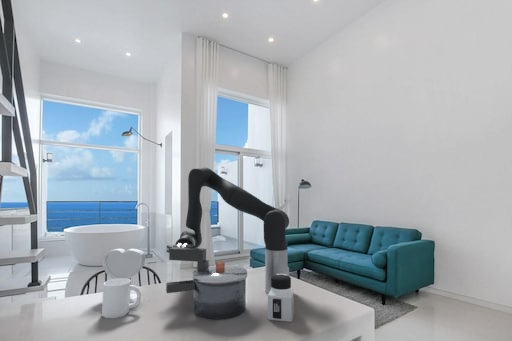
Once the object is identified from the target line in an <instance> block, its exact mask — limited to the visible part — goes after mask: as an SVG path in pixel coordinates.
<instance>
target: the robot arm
mask: <svg viewBox="0 0 512 341" xmlns="http://www.w3.org/2000/svg"><path fill="white" fill-rule="evenodd" d="M187 180H188V181H187V183H188V184H187V185H188V187H187V188H188V191H187V192H188V195H187V196H188V197H187V198H188V203H187V204H188V206H187V214H186V215H187V216H186V221H185V226H186V228H188V229H190V230H192V231H188V230H185V231H182V233H181V234H180V237H179V238H178V240H176V242H175V244H173V245H168V244H167V245H166V253H168V254H169V250H170V248H173V247H178V248H200V246H201V245H202V241H203V238H202V231H201V223H202V217H203V207H202V204H201V203H202V202H201V190H202V188H203V187H206V188H207V187H208V188H209V189H212V190H214V191H215V192H216V193H218V194H219V196H220V197H221V199H222V200H223V202H225V203H226V204H228V205H229V206H231V207H232V208H233V209H236V210H238V211H240V212H242V213H244V214H248V215H251V216H254V217H256V218H258V219H260V221H261V220H262V221H263V242H264V244H265V245H264V246H265V253H264V254H265V259H264V260H265V261H264V262H265V268H264V269H265V270H264V272H265V274H264V275H265V277H264V278H265V281H264V282H265V283H264V284H265V293H266V294H269V292H270V290H271V277H272V276H273V275H275V274H285V275H288V276H290V267H289V266H288V261H289V260H288V242H287V240H286V229H287V228H288V227H289V225H290V217H289V215H288V214H287V213H286V212H285V211H283V210H282V209H279V208H277V207H274V206H272V205H270V204H267V203H266V202H264V201H262V200H261V199H259V197H256V196H255V195H253V194H252V193H250V192H249V191H247V190H245V189H244V188H242V187H241V186H238V185H236V184H234V183H233V182H231V181H229V180H227V179H225V178H224V177H222V176H220V175H219V174H217V173H216V171H213V170H212V169H210V167H206V166H202V167H194V168H192V169H191V170H190V171H189V173H188V178H187Z"/></svg>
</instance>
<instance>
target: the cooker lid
mask: <svg viewBox="0 0 512 341" xmlns="http://www.w3.org/2000/svg"><path fill="white" fill-rule="evenodd" d="M168 255H169V256H168V260H169V261H178V262H179V261H181V262H197V267H196V268H197V269H195V270H194V271H193V272H192V280H195V281H197V282H200V283H204V284H230V283H236V282H240V281H242V280H244V279H246V280H247V278H248V270H247V269H246V268H244V267H242V266H238V265H227V264H226V263H225V262H224V261H217V262H216V263H215V265H209V262H210V261H209V259H207V248H200V247H198V248H178V247H173V248H170V250H169V253H168Z"/></svg>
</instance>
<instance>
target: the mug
mask: <svg viewBox="0 0 512 341" xmlns="http://www.w3.org/2000/svg"><path fill="white" fill-rule="evenodd" d="M131 282H132V280H131V278H130V279H125V278H120V279H112V278H111V279H109V280H106V281H104V282H103V286H102V287H103V288H102V303H101V304H102V305H101V307H102V309H101V315H102V317H103V318H105V319H117V318H122V317H124V316H126V315H127V314H128V313H129V312H130V309H134V308H135V307H137V306H138V305H139V304H140V303H141V299H142V292H141V289H140V288H139V287H138V286H136V285H133V284H131ZM131 291H134V292H135V294H137V298H136V299H135V301H134V302H133V303H132V302H131V299H130V294H131Z"/></svg>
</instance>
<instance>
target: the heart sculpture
mask: <svg viewBox="0 0 512 341" xmlns="http://www.w3.org/2000/svg"><path fill="white" fill-rule="evenodd" d="M145 253H146V252H144V251H143V250H141V249H137V248H129V249H127V250H126V249H124V248H114V249H112V250H108V251H106V252H104V254H102V258H101V262H102V268H103V271H105V274H106V275H107V276H108V277H110V278H111V280H112V279H120V278H125V279H130V280H131V278H134V276H136V275H137V274H138V273H140V272H141V270H142V269H143V267H144V266H145V262H146V254H145ZM133 299H135V300H136V299H137V293H130V300H133Z"/></svg>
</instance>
